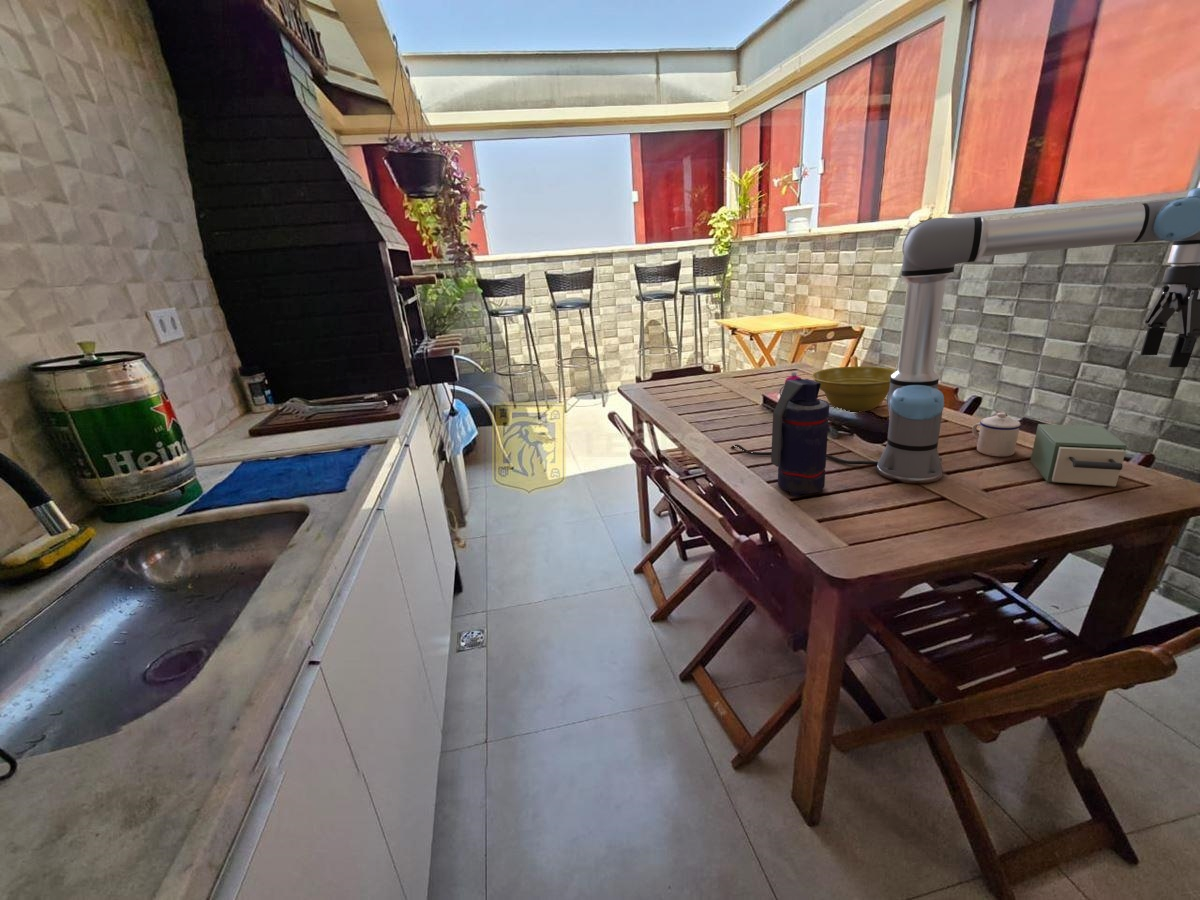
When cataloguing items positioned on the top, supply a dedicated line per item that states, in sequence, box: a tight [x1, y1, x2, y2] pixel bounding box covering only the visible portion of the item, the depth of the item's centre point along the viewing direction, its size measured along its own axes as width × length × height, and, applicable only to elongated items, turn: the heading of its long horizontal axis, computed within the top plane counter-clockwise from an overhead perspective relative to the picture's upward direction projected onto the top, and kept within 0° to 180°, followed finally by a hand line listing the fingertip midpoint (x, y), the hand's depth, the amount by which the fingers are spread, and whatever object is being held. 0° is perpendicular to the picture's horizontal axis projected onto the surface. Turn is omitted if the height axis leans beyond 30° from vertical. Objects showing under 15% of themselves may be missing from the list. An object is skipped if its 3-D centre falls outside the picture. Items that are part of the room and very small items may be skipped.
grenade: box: [770, 378, 830, 497], centre depth 128 cm, size 14×12×30 cm
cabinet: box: [1029, 423, 1128, 488], centre depth 124 cm, size 15×13×11 cm
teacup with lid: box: [971, 412, 1022, 457], centre depth 141 cm, size 12×9×12 cm
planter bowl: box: [811, 365, 898, 412], centre depth 192 cm, size 32×32×13 cm
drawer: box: [1052, 446, 1127, 487], centre depth 120 cm, size 18×11×9 cm, turn 154°
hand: (1162, 360), depth 114 cm, fingers open, 13 cm apart
